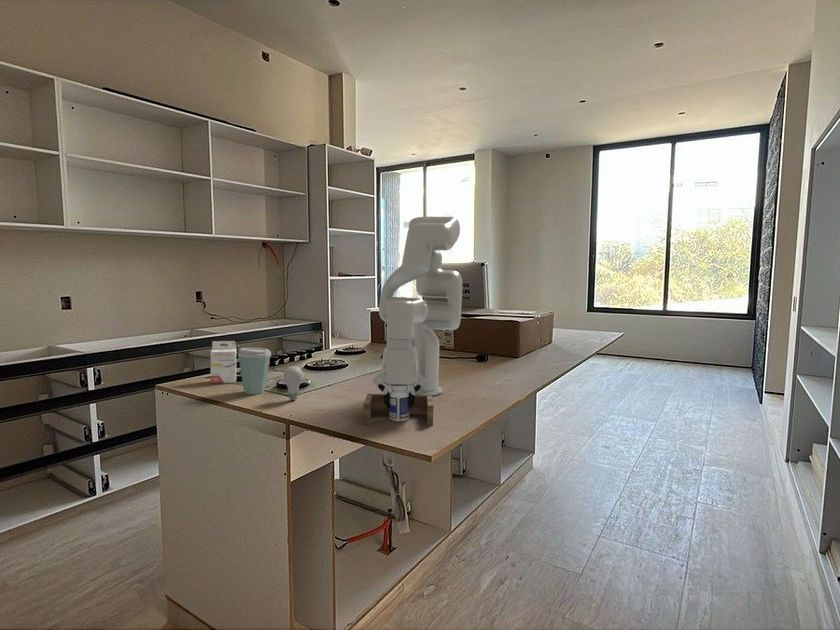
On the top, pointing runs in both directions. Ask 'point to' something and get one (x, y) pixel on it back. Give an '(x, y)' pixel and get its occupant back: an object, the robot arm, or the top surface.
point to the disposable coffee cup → (254, 369)
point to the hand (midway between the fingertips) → (399, 406)
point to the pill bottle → (399, 403)
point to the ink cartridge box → (223, 362)
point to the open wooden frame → (376, 405)
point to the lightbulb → (293, 380)
